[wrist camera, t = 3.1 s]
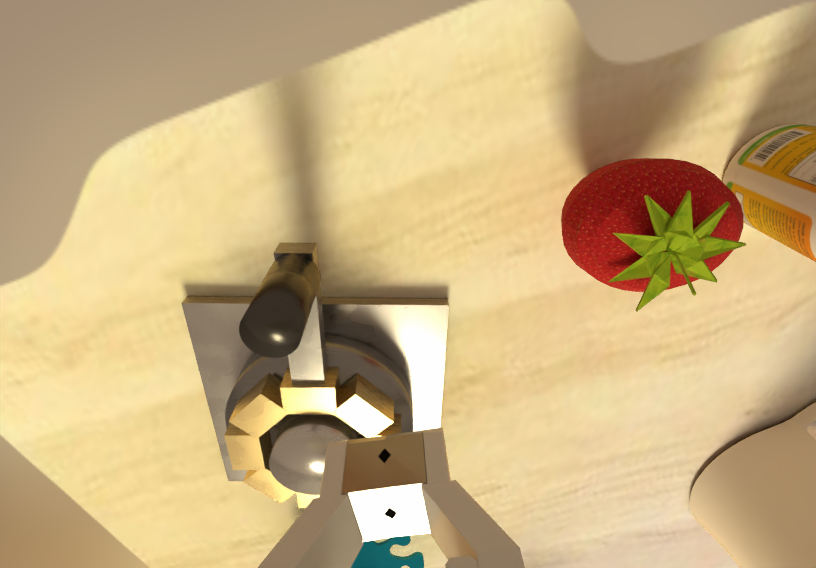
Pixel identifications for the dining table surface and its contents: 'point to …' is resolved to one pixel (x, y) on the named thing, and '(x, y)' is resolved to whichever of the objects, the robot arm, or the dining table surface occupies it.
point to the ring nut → (295, 371)
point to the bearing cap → (345, 348)
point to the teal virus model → (386, 555)
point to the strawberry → (651, 225)
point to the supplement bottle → (779, 185)
